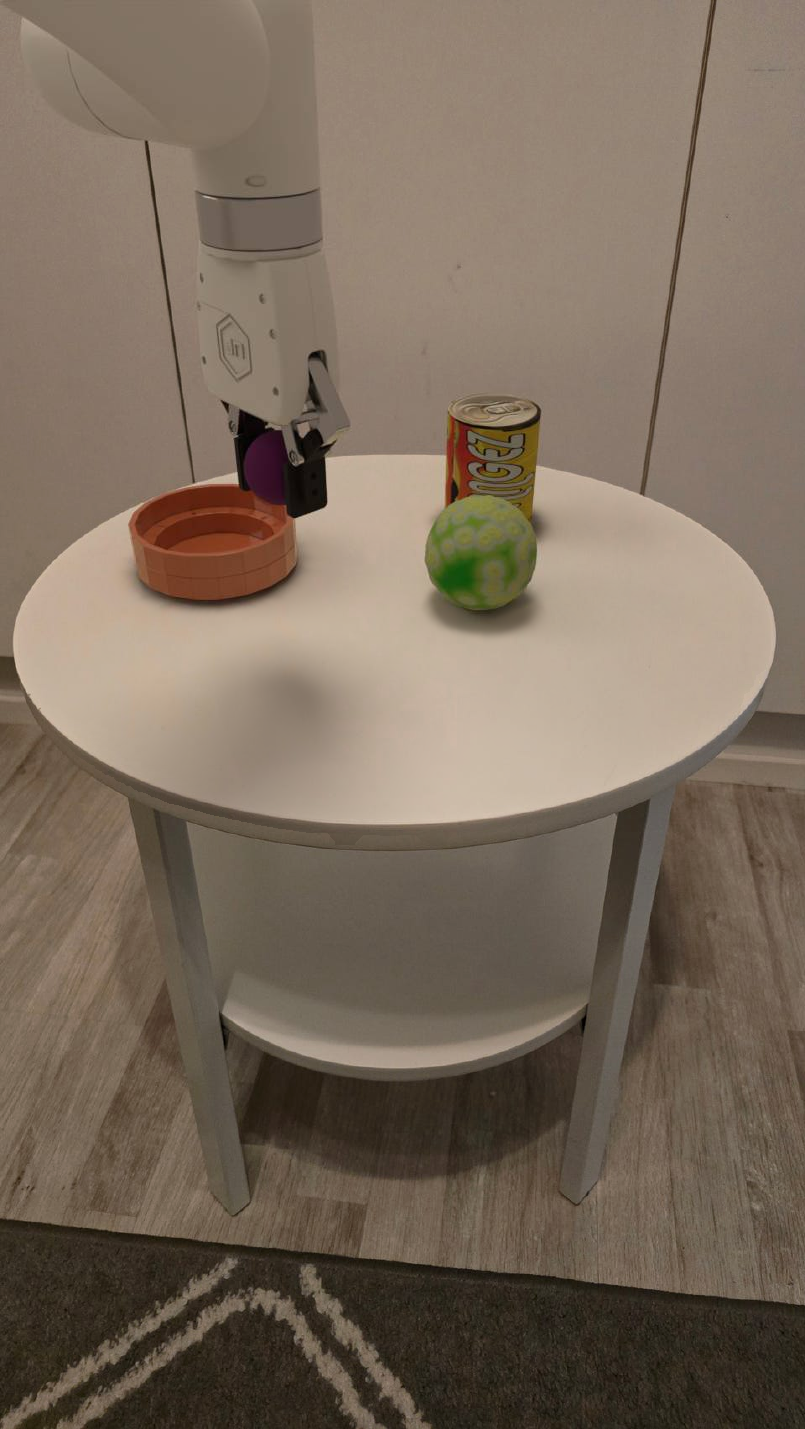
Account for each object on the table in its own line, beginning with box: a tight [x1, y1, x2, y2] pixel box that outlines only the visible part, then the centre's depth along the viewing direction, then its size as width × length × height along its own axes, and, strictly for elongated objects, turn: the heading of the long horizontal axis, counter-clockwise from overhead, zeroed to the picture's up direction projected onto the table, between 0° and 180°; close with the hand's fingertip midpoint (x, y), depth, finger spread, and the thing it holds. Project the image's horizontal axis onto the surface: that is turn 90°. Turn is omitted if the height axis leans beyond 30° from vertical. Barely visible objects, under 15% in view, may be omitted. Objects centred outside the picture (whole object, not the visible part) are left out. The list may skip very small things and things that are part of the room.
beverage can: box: [444, 393, 542, 525], centre depth 98 cm, size 9×9×12 cm
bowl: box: [127, 483, 298, 601], centre depth 93 cm, size 15×15×5 cm
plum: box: [244, 429, 303, 506], centre depth 70 cm, size 5×5×5 cm
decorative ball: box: [424, 495, 538, 611], centre depth 86 cm, size 10×10×10 cm
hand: (282, 496), depth 71 cm, fingers closed on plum, 5 cm apart
